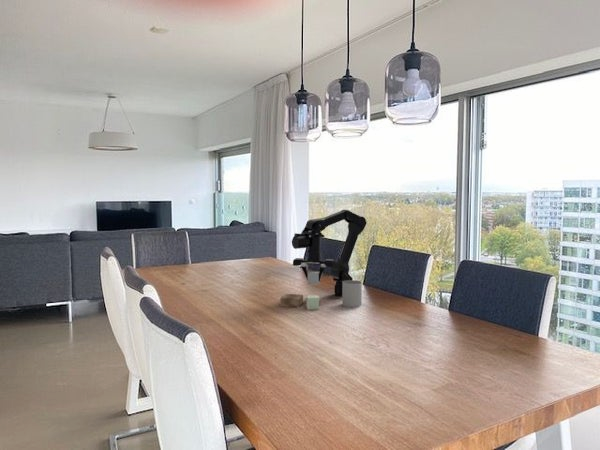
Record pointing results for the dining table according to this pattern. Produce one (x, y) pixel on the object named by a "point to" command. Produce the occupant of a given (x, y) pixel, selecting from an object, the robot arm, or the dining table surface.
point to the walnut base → (291, 300)
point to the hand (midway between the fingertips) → (313, 281)
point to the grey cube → (313, 278)
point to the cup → (352, 293)
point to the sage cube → (312, 302)
